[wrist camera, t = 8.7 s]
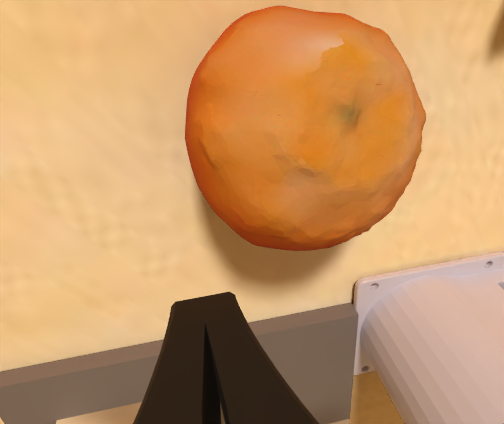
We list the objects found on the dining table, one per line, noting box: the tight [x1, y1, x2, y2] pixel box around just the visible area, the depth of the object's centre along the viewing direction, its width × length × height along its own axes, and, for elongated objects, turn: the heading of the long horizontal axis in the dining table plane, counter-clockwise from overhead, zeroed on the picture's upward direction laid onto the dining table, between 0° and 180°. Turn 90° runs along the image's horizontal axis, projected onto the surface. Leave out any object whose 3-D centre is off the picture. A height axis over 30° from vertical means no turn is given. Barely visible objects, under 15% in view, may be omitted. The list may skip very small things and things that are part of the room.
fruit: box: [185, 6, 426, 251], centre depth 14 cm, size 8×8×8 cm
